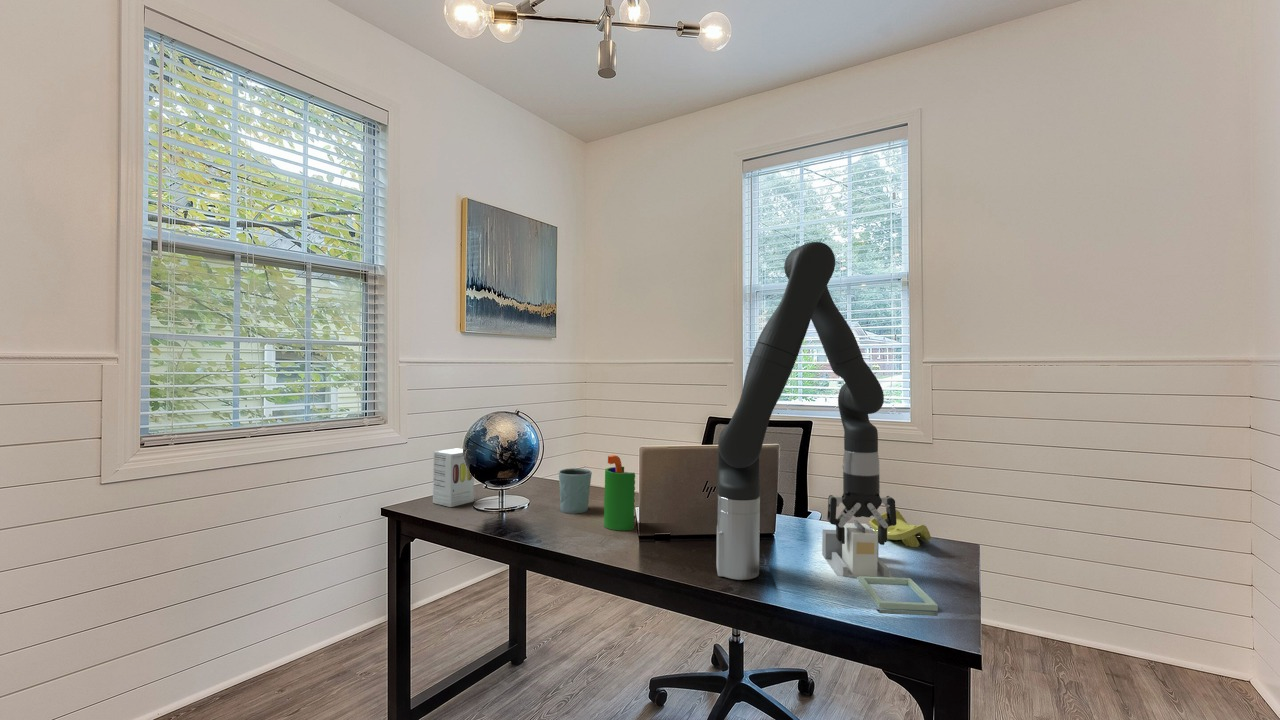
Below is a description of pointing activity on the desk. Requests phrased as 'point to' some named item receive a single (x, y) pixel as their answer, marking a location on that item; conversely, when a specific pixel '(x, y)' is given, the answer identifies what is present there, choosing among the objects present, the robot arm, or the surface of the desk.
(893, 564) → the desk surface
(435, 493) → the supplement box
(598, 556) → the desk surface
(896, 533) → the plastic component
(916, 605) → the tray
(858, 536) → the labeled white box
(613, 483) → the motor
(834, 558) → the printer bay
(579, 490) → the pale teal cup
